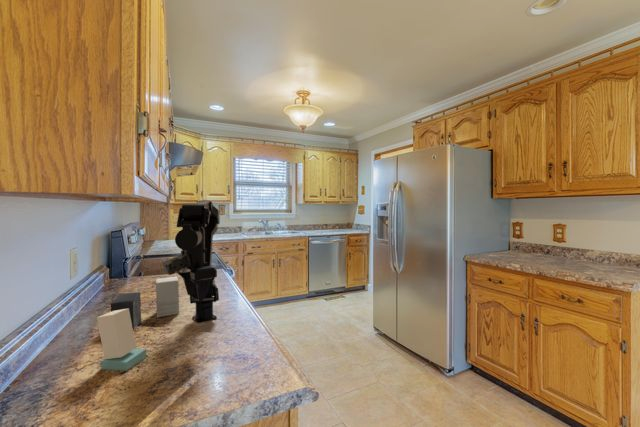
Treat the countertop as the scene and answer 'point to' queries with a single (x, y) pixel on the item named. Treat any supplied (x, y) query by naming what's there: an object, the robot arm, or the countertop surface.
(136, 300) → the small box
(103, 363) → the teal square slab
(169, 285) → the supplement box
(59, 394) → the countertop surface
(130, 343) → the cream column
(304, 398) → the countertop surface
